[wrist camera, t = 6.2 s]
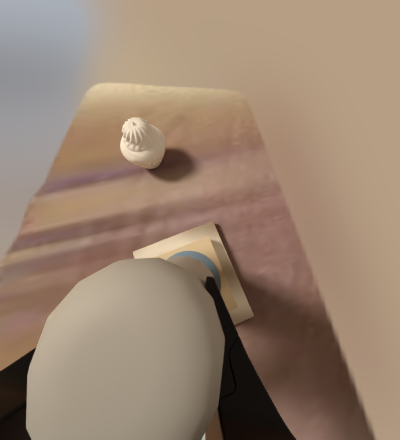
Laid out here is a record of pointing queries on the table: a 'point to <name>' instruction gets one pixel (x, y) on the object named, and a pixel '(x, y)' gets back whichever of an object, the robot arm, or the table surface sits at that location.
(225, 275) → the foundation
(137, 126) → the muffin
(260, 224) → the table surface
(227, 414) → the robot arm
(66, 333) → the beige mushroom knob
